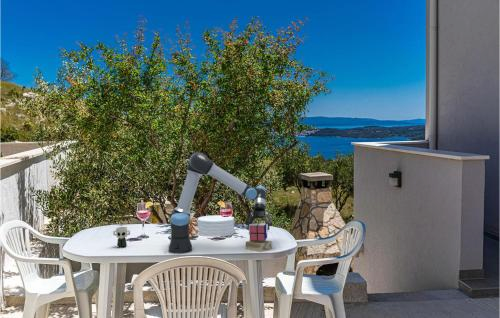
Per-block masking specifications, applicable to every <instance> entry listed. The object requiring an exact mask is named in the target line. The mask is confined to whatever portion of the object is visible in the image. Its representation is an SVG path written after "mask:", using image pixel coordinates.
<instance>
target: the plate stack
mask: <svg viewBox="0 0 500 318" xmlns="http://www.w3.org/2000/svg"><path fill="white" fill-rule="evenodd" d="M228 216H229V217H222V216H221V214H218V215H217V214H215V215H214V214H213V215H205V216H204V215H203V216H199V217H197V230H198V229H199V234H198V235H199V236H203V237H213V238H214V237H217V238H218V236H219V237H226V236H232V235H233V234H235V217H234V216H231V215H228Z"/></svg>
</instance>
